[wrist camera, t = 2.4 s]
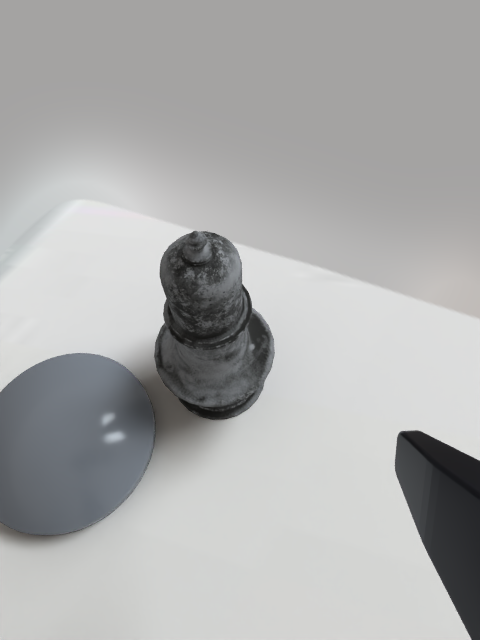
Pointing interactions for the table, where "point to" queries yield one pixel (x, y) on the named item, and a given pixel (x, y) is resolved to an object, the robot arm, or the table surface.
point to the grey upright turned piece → (210, 329)
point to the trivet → (71, 443)
